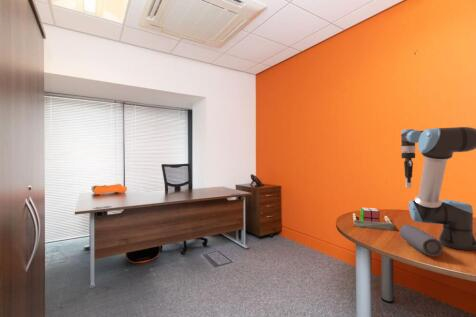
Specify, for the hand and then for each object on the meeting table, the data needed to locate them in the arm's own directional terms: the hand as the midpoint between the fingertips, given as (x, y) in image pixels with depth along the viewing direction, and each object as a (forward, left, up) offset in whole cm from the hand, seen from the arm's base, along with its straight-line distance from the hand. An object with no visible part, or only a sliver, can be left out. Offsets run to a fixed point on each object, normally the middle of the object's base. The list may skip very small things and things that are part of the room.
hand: (408, 187), depth 157 cm
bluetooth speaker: (-45, +5, -27) cm, 53 cm away
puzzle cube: (-1, +23, -27) cm, 35 cm away
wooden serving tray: (+1, +22, -26) cm, 34 cm away
